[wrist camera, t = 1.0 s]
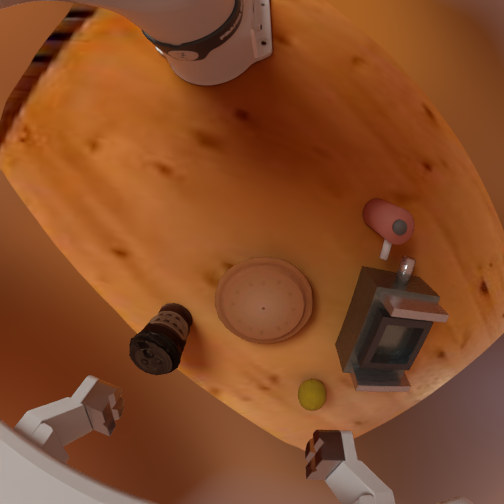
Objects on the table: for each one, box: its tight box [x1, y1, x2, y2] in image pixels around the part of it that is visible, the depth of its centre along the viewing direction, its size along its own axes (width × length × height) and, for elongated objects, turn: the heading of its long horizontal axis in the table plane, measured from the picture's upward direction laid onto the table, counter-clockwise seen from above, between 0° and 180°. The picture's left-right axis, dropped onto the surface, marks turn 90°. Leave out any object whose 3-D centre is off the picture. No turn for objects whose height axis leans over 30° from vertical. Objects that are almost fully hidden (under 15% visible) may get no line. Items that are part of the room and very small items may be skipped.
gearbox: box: [335, 255, 449, 392], centre depth 40 cm, size 20×12×13 cm, turn 170°
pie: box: [215, 257, 313, 343], centre depth 45 cm, size 15×16×5 cm
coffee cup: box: [129, 303, 192, 375], centre depth 44 cm, size 9×8×13 cm
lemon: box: [298, 379, 326, 411], centre depth 49 cm, size 6×6×8 cm
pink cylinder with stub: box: [363, 199, 414, 260], centre depth 38 cm, size 8×5×10 cm, turn 170°
